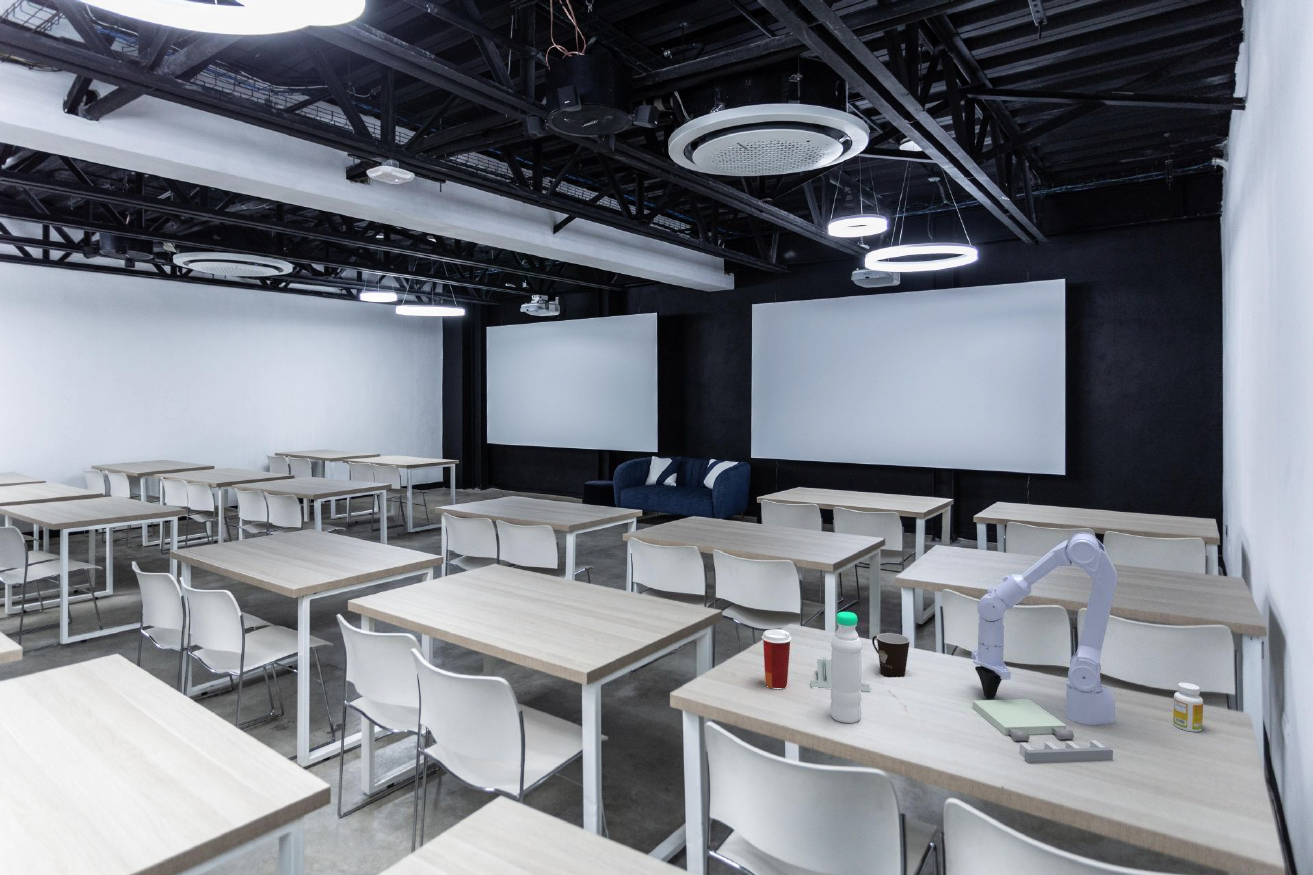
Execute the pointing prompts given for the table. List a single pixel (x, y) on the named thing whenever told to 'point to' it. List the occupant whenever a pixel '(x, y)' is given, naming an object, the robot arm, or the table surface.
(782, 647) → the paper cup
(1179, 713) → the supplement bottle
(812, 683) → the metal bracket
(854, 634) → the water bottle
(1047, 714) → the door
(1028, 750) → the jig board
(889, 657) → the coffee mug
